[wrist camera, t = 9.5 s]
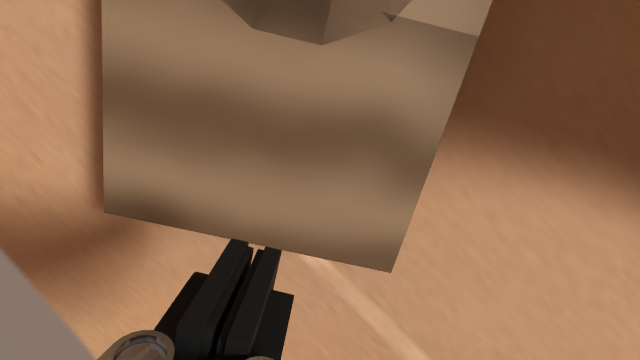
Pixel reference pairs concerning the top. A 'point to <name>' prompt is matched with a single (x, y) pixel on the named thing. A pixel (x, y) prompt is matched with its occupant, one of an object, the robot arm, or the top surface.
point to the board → (281, 116)
